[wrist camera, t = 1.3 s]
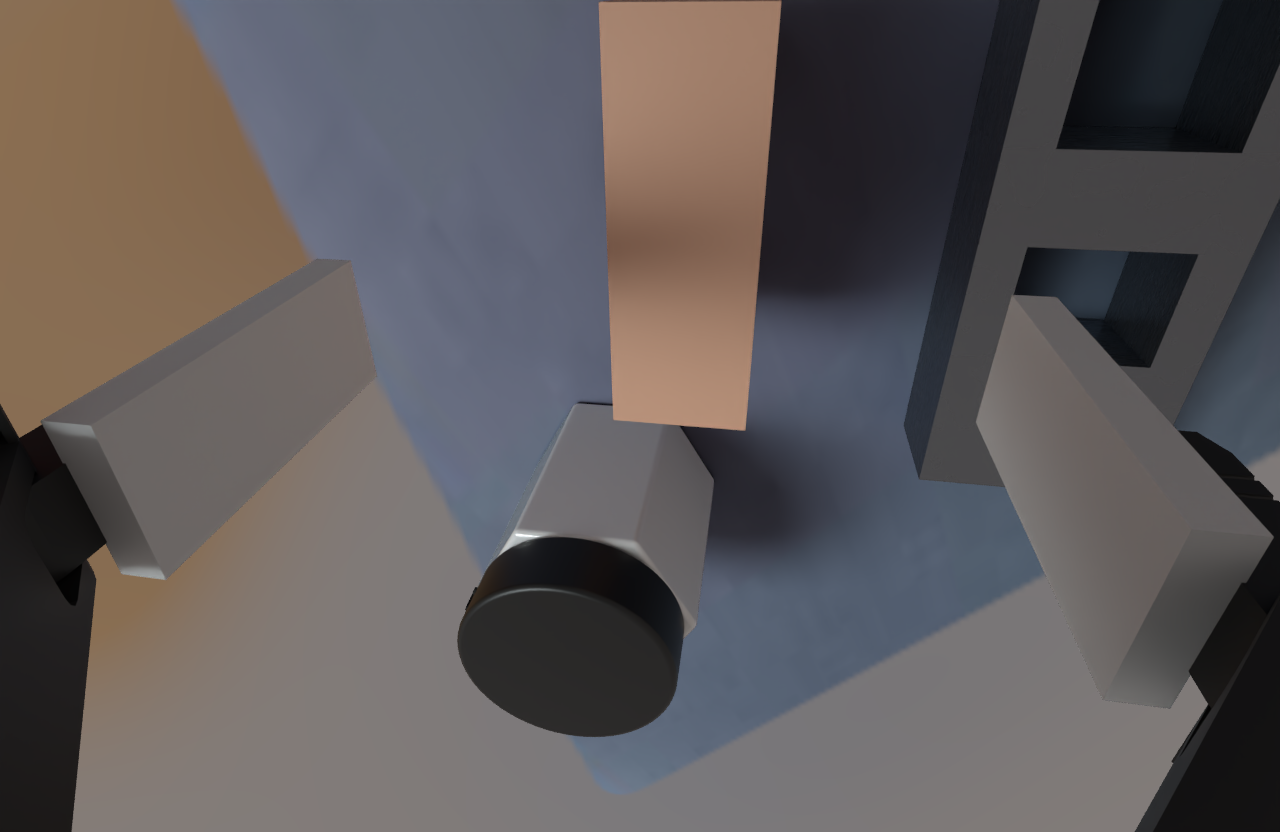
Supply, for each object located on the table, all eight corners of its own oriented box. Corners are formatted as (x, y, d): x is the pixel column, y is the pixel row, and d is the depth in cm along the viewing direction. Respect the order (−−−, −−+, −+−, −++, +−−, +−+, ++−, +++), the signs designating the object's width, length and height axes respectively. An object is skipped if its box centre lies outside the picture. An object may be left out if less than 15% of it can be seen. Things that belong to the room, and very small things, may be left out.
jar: (509, 432, 35) (401, 615, 25) (648, 368, 32) (589, 549, 22) (604, 556, 38) (543, 761, 28) (738, 510, 35) (723, 723, 25)
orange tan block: (660, -7, 24) (598, 2, 16) (779, -8, 23) (781, 1, 15) (659, 295, 30) (613, 419, 21) (753, 300, 29) (745, 430, 21)
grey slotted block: (1054, -242, 19) (1112, -287, 16) (1382, -259, 18) (1518, -311, 15) (903, 425, 31) (919, 479, 28) (1098, 440, 30) (1138, 498, 27)
